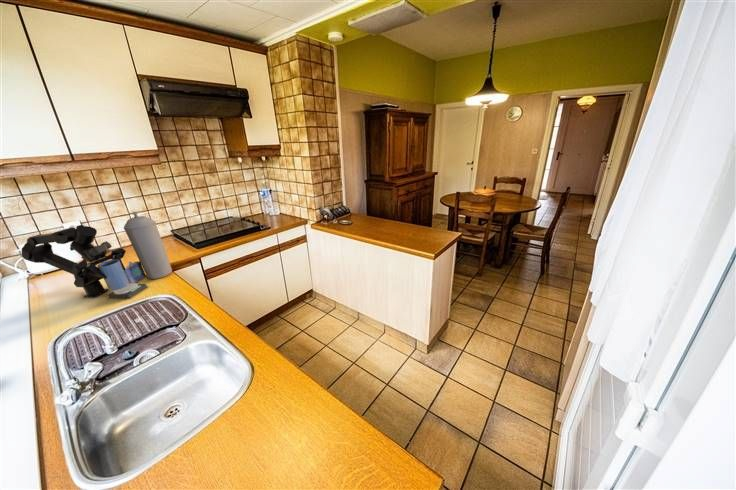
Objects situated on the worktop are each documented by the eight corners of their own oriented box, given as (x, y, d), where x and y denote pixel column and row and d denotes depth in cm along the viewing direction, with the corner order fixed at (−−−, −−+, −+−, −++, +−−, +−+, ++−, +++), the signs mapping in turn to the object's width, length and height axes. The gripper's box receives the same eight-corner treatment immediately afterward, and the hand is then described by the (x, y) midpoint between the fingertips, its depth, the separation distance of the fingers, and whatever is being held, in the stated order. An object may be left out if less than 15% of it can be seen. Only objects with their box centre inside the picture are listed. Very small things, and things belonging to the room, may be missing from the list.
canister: (180, 269, 148) (157, 208, 134) (159, 281, 136) (132, 216, 123) (161, 268, 150) (137, 208, 137) (139, 280, 139) (110, 216, 125)
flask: (133, 284, 135) (124, 265, 131) (128, 284, 135) (119, 266, 131) (147, 275, 143) (139, 257, 139) (142, 275, 144) (134, 258, 139)
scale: (109, 298, 124) (106, 293, 123) (127, 287, 133) (125, 282, 132) (130, 298, 123) (127, 293, 122) (147, 287, 132) (145, 282, 130)
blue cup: (105, 290, 120) (92, 266, 115) (120, 281, 126) (109, 259, 121) (119, 290, 119) (107, 267, 114) (133, 282, 125) (123, 259, 120)
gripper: (62, 247, 106) (95, 274, 107) (114, 231, 122) (141, 254, 124) (59, 263, 111) (90, 288, 113) (109, 246, 127) (135, 268, 129)
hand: (115, 273), depth 119 cm, fingers closed on blue cup, 7 cm apart
